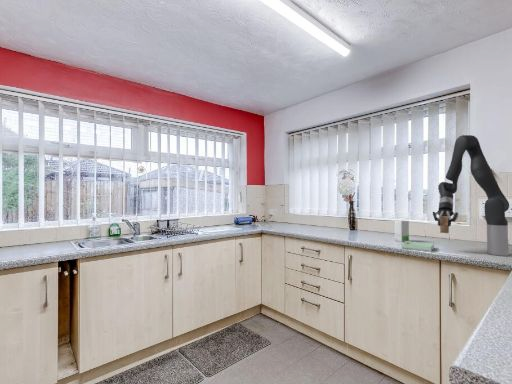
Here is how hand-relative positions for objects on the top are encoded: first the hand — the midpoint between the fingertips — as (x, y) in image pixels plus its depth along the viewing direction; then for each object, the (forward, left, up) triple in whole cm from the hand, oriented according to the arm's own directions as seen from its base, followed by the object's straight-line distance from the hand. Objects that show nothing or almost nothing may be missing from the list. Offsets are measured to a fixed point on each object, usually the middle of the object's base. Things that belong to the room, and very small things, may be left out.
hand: (444, 225), depth 167 cm
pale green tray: (+14, -1, -16) cm, 22 cm away
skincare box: (+29, -28, -16) cm, 44 cm away
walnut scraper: (0, -2, -5) cm, 5 cm away
